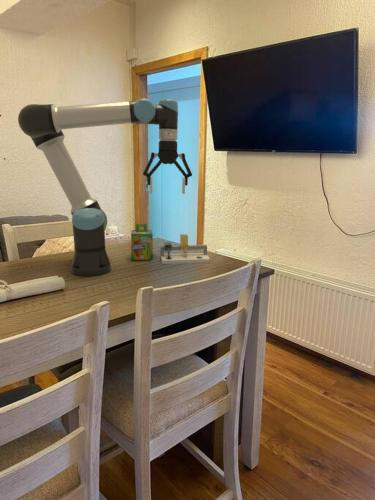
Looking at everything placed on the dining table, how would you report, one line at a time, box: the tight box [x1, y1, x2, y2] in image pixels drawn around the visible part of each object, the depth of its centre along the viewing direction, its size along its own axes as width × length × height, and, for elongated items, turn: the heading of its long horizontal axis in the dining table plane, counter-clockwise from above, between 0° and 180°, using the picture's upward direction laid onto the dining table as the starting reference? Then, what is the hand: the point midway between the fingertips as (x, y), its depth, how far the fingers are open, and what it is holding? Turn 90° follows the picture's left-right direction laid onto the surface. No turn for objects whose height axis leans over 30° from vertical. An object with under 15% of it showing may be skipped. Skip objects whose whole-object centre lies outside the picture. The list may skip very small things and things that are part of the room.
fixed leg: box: [163, 242, 173, 259], centre depth 163 cm, size 3×8×5 cm, turn 7°
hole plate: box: [160, 244, 211, 265], centre depth 163 cm, size 20×10×6 cm, turn 97°
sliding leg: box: [179, 233, 189, 257], centre depth 163 cm, size 3×8×8 cm, turn 7°
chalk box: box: [130, 223, 154, 261], centre depth 166 cm, size 9×9×15 cm
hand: (167, 193), depth 160 cm, fingers open, 13 cm apart
